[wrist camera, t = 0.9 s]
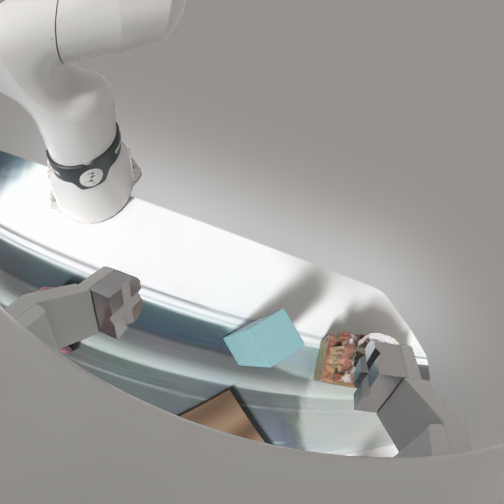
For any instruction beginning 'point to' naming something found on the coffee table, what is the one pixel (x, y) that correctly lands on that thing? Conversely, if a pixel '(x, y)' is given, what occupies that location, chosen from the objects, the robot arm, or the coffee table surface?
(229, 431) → the walnut board
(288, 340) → the teal block
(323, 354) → the decorative box
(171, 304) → the coffee table surface
